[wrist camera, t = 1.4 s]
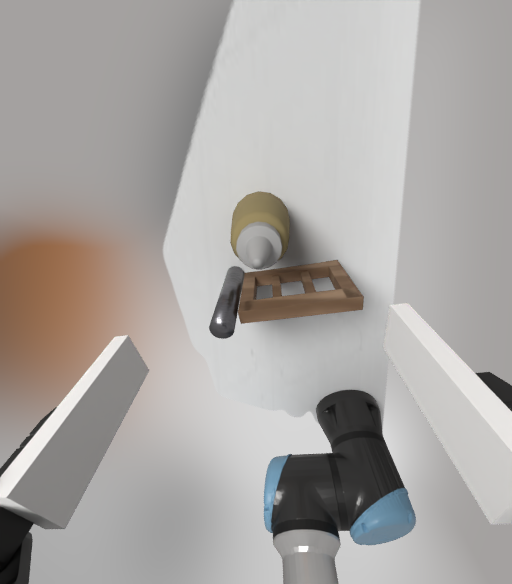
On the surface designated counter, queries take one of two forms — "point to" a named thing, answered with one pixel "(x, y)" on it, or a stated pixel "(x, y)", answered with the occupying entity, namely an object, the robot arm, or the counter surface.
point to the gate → (299, 304)
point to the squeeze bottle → (260, 230)
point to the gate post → (227, 304)
